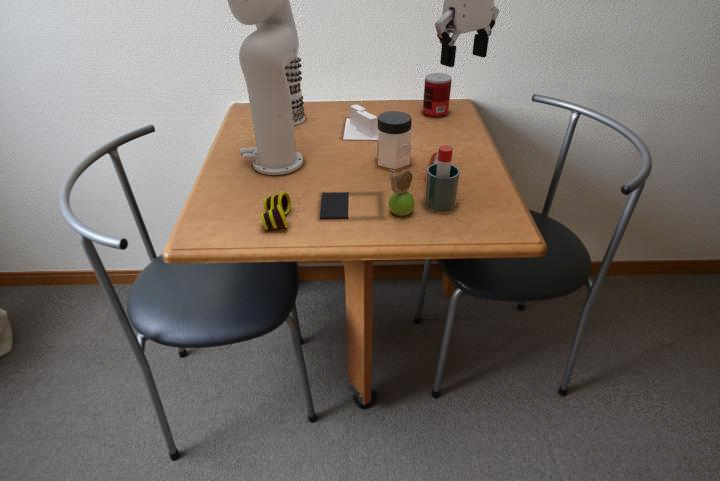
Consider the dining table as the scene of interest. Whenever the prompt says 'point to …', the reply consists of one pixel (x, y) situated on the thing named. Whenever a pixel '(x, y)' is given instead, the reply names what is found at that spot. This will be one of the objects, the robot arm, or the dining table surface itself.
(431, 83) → the canned food
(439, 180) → the pen cup
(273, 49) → the robot arm
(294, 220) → the dining table surface
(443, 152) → the marker
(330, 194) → the mat
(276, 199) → the opera glasses
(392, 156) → the jar
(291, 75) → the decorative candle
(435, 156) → the candy bar
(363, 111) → the napkin holder
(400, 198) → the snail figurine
